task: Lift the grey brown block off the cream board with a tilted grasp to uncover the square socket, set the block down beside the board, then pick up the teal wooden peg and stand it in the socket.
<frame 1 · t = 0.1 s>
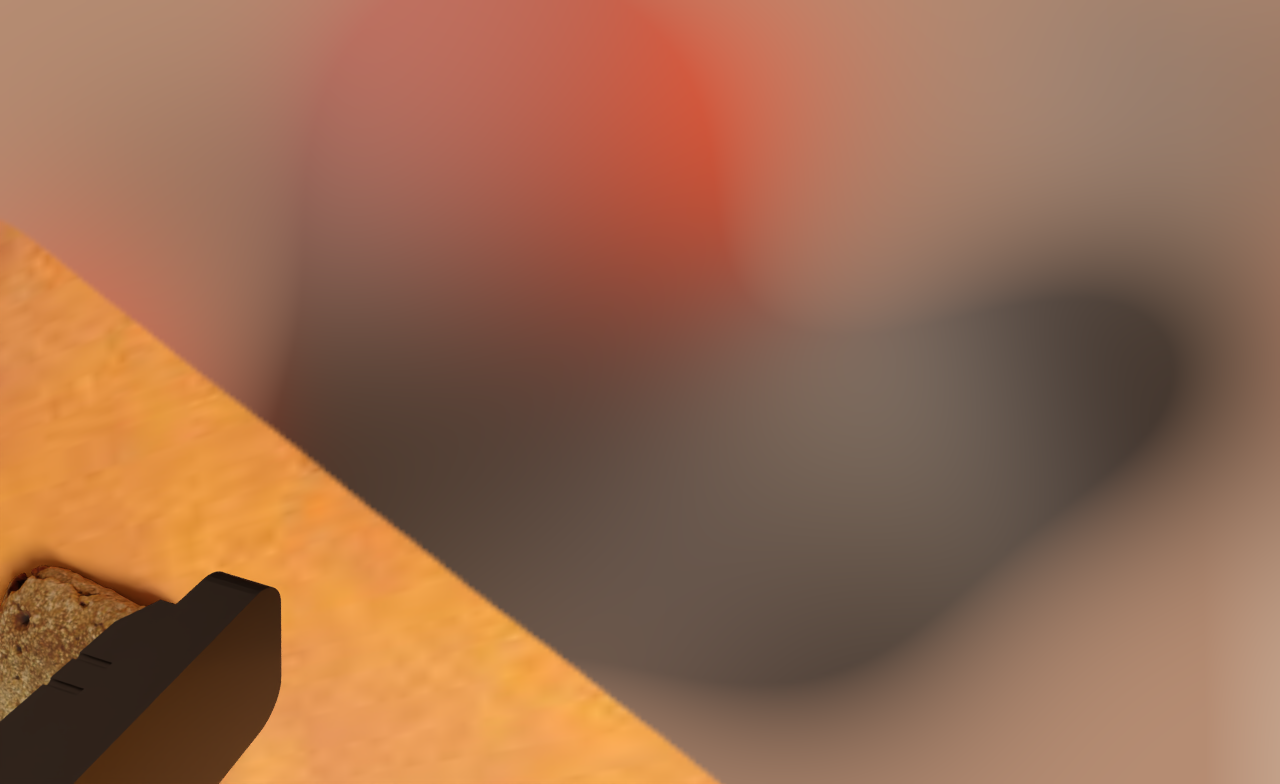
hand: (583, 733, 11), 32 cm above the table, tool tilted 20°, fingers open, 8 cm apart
pastry: (108, 719, 49), on the table
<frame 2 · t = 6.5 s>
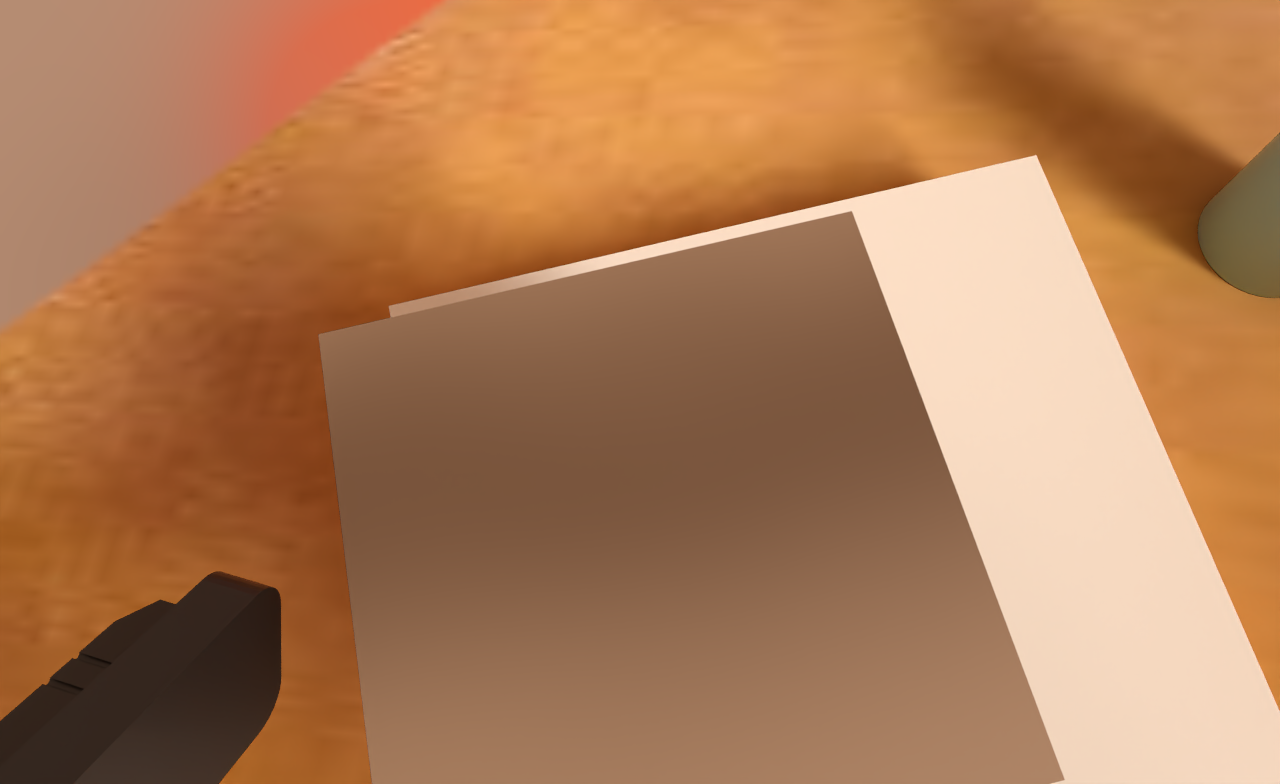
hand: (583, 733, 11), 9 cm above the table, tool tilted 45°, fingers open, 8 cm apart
grey brown block: (669, 647, 17), point 3 cm above the table, touching gripper, layout board
peg: (1263, 240, 23), on the table
layout board: (808, 623, 20), on the table
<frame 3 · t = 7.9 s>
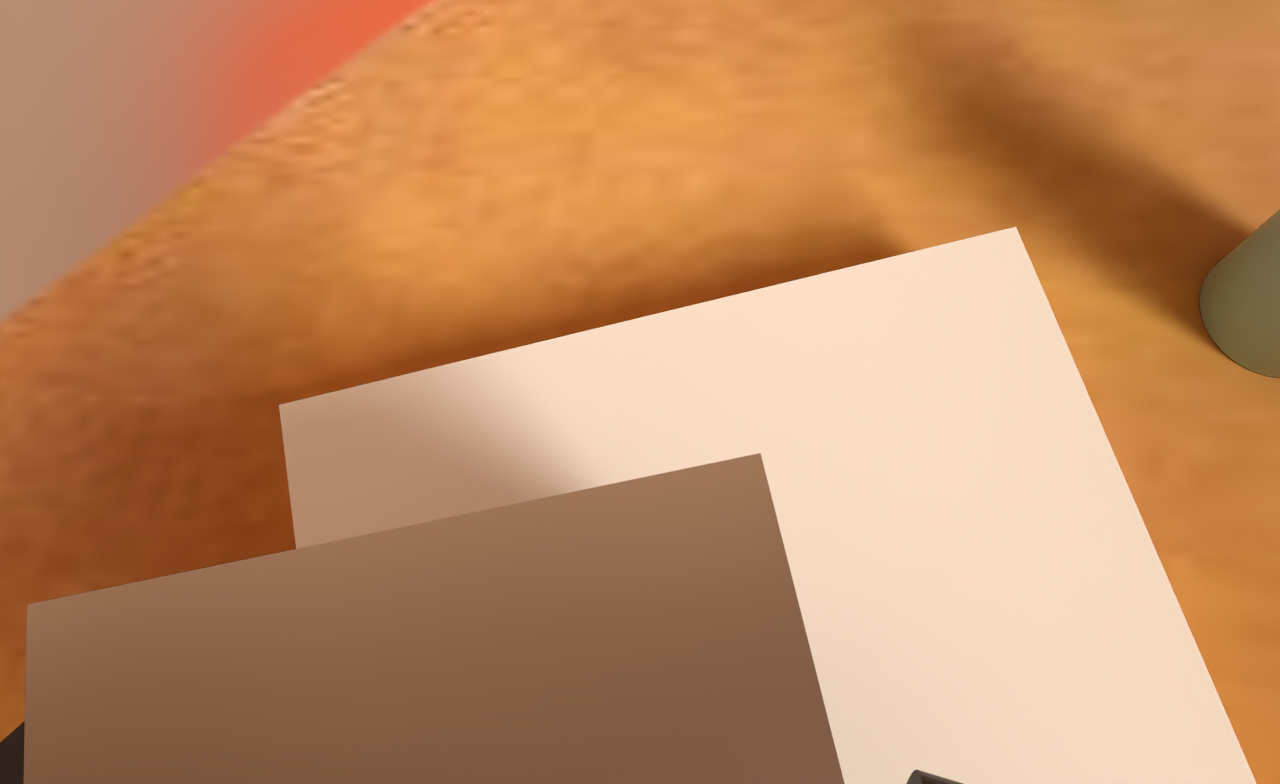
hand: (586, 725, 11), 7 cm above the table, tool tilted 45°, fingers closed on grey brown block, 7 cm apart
peg: (1272, 312, 20), on the table
layout board: (762, 761, 18), on the table
when the fingers open (5 cm above the table, at t = 13.4 s): grey brown block drops 1 cm, on the table.
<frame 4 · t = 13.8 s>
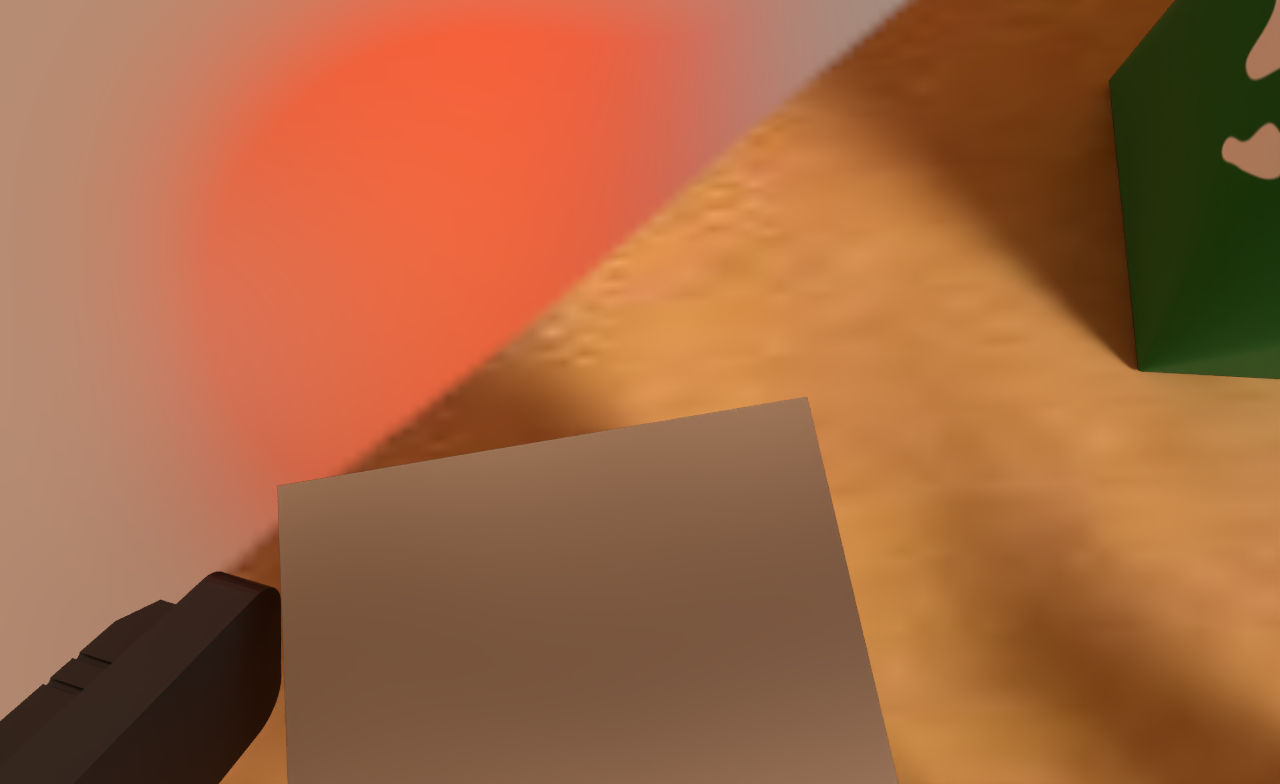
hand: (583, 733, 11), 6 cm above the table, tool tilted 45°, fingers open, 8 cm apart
grey brown block: (629, 722, 17), on the table, touching gripper
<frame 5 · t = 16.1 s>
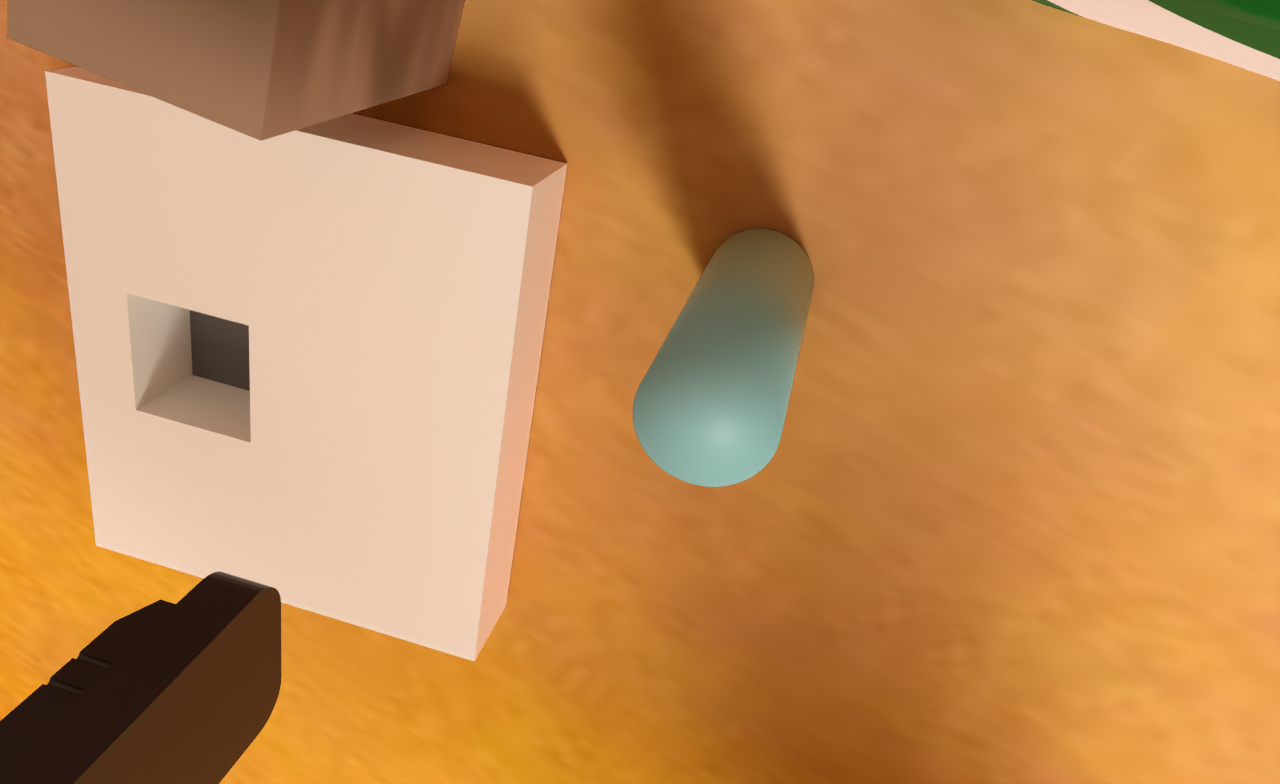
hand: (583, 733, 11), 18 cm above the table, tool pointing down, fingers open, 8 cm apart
peg: (759, 280, 27), on the table
layout board: (331, 356, 31), on the table
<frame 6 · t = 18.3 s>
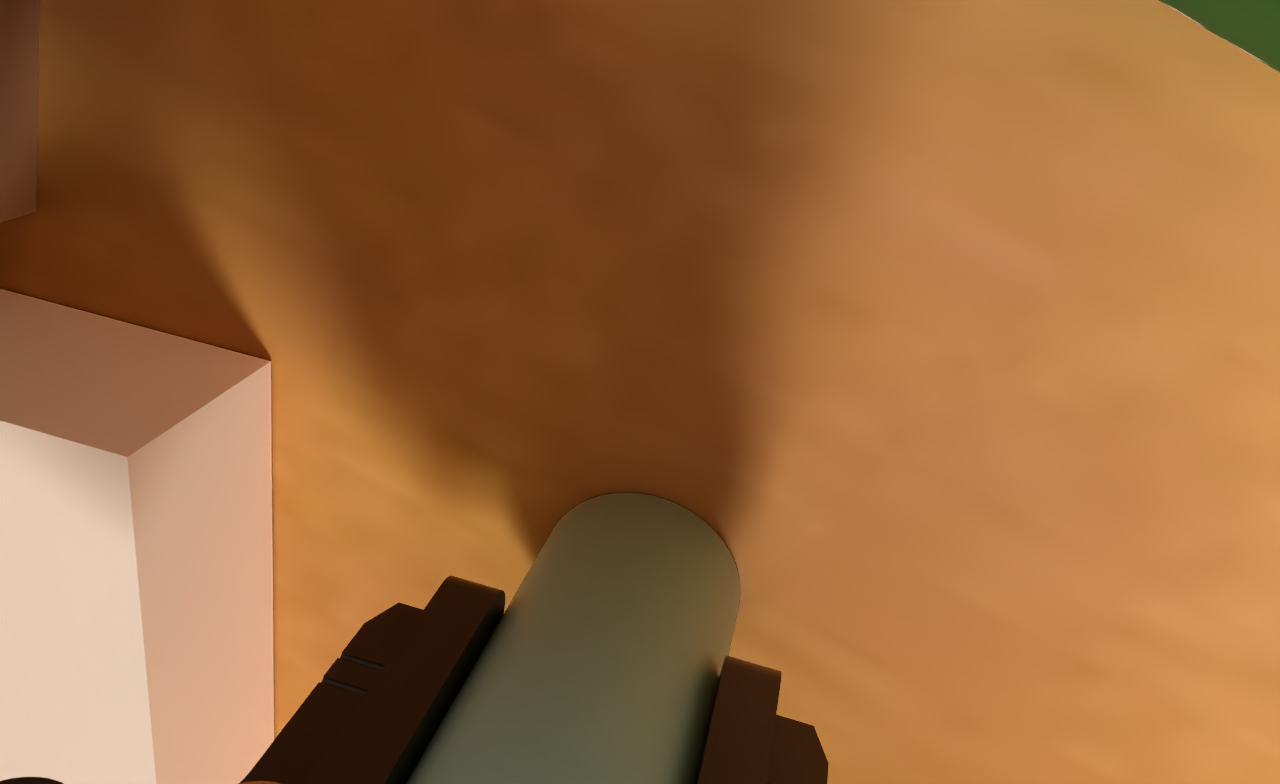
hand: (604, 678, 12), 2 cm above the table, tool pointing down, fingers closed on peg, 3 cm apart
peg: (639, 581, 14), on the table, touching gripper
when the fingers open (5 cm above the table, at t = 23.1 s): peg drops 3 cm, resting on layout board.
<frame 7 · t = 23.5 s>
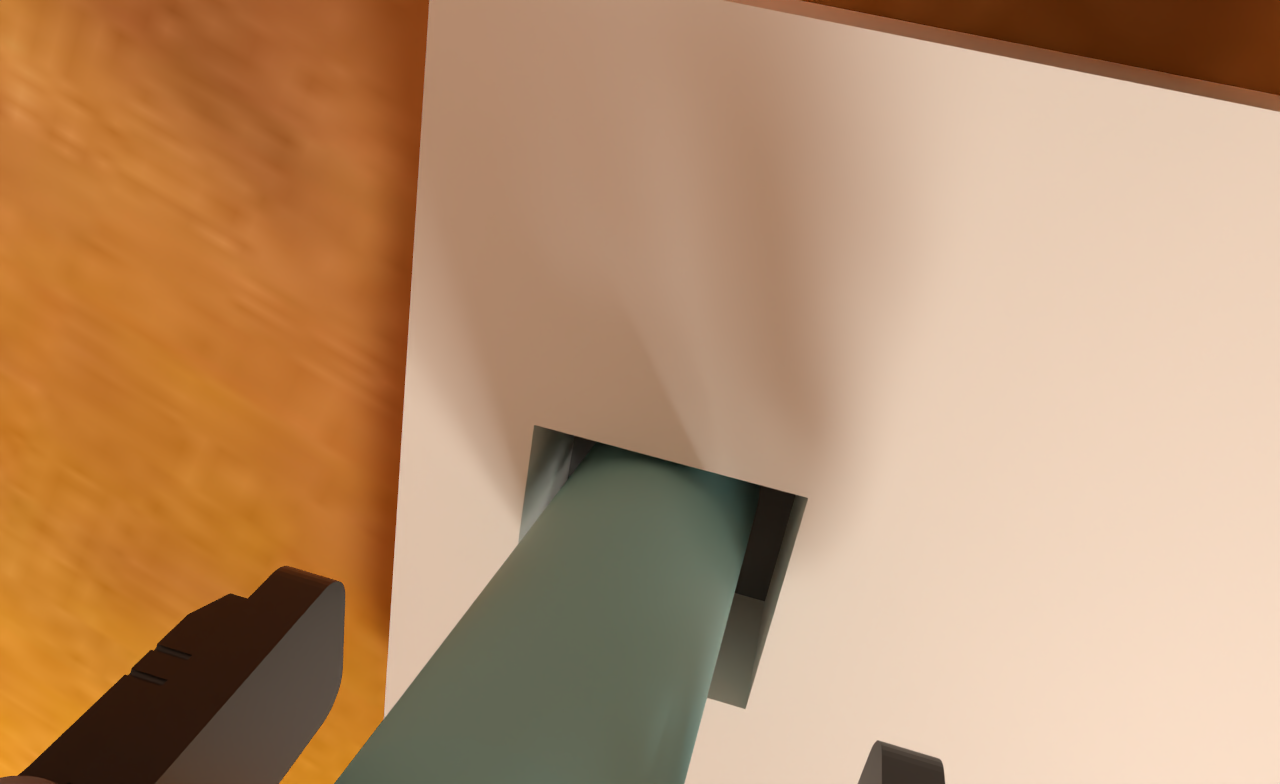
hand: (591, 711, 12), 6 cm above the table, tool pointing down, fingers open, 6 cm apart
peg: (673, 482, 17), resting on layout board, tilted 7°
layout board: (848, 520, 16), on the table
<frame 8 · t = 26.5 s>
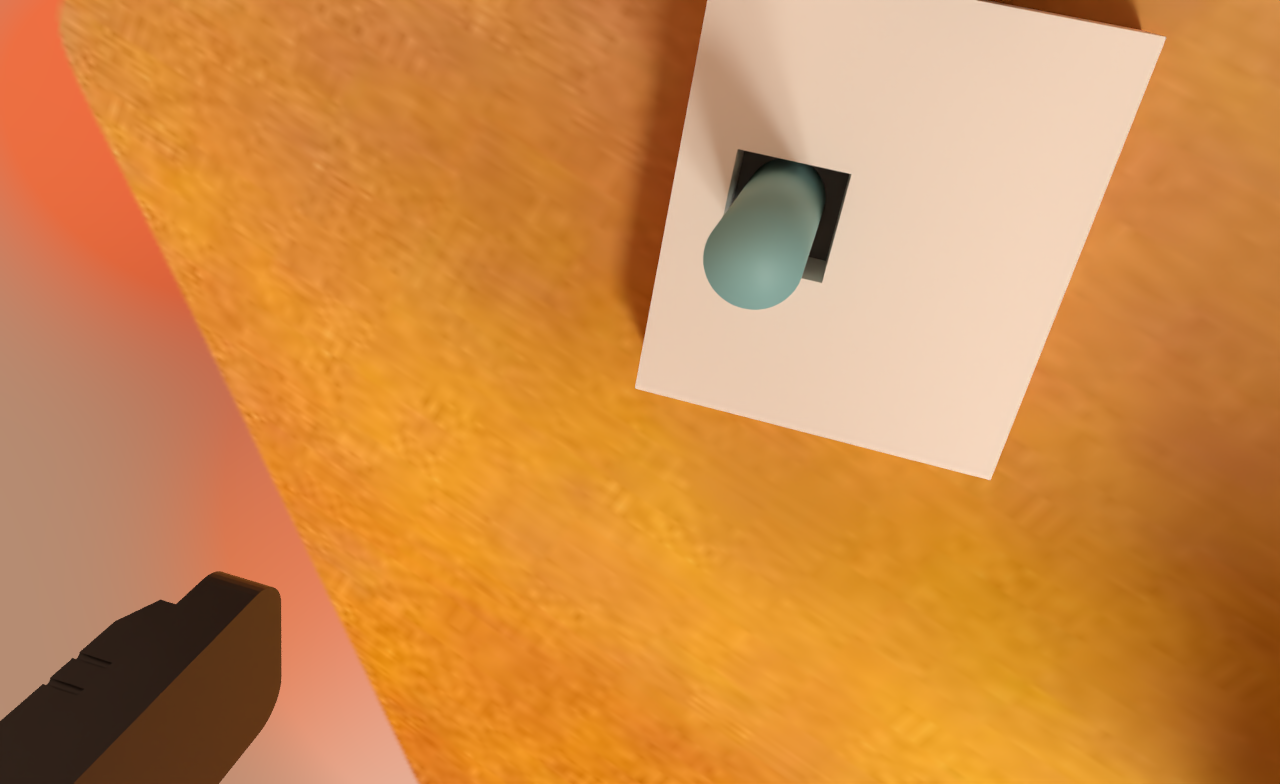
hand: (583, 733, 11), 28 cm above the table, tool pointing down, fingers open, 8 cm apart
peg: (785, 197, 36), resting on layout board
layout board: (865, 215, 36), on the table
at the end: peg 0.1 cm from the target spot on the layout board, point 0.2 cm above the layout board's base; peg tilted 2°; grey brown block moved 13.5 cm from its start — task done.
